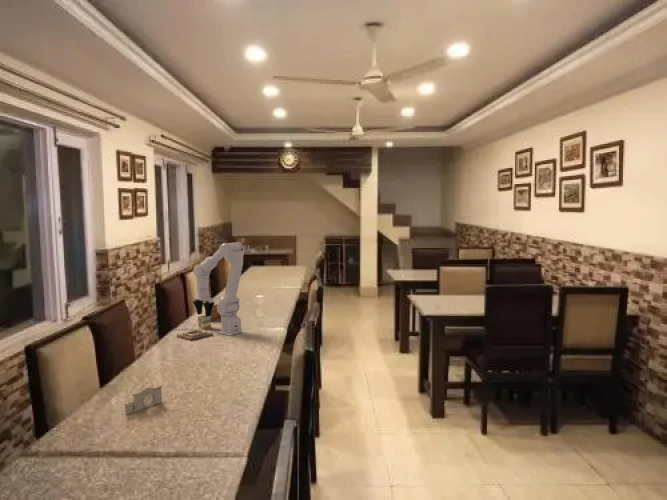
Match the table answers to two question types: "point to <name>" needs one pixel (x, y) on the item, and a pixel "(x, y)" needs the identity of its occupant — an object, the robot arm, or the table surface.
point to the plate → (194, 335)
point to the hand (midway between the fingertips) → (204, 315)
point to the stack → (204, 322)
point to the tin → (215, 313)
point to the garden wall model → (140, 397)
